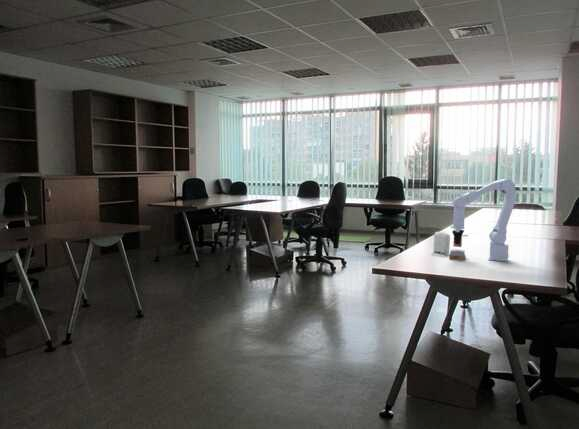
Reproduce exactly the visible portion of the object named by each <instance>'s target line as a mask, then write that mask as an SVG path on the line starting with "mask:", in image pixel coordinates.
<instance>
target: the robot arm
mask: <svg viewBox="0 0 579 429" xmlns="http://www.w3.org/2000/svg"><path fill="white" fill-rule="evenodd" d="M495 190H496V191H500V192H501V193H502V194H503V196H504V197H505V199H504V201H503V203H502V204H503V205H502V207H501V209H500V210H501V211H500V212H499V216H498V219H497V221H496V224H495V226H494V227H493V229H492V230H491V232H490V233H489V239H490V243H489V256H488V261H495V262H496V261H498V262H499V261H500V262H508V260H509V257H510V256H509V243H508V244H506V241H507V233H508V232H507V231H508V230H507V226H508V224H509V220H510V218H511V215H512V211H513V209H514V206H515V204H516V201H517V198H518V197H517V196H518V194H517V190H516V184H515V183H514V181H512V180H511V179H508V178H500V179H498V180H495V181H492V182H490V183H489V184H486V185H485V186H483V187H481V188H480V189H478V190H474V189H469V190H468V192H466V193H464V194H460V196H456V197H455V198H454V199H453V201H452V204H453V217H452V218H453V220H452V226H450V228H451V229H452V234H453V240H454V239H455V244H460V240H461V237H462V238H463V233H464V232H465V216H466V215H465V214H466V211H465V210H466V209H465V208H466V206H467V205H469V204H471V203H474V202H475V201H478V200H479V199H480V197H481V196H483V195H486V194H487V193H490V192H492V191H495Z"/></svg>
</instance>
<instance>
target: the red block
mask: <svg viewBox="0 0 579 429" xmlns="http://www.w3.org/2000/svg"><path fill="white" fill-rule="evenodd" d="M462 244H463V236H462V237H461V240H460V244H455V239H454V238H453V245H452V246H453V247H456V248H457V247H458V248H462Z"/></svg>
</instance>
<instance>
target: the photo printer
mask: <svg viewBox="0 0 579 429" xmlns="http://www.w3.org/2000/svg"><path fill="white" fill-rule="evenodd" d="M450 242H451V236H450V234H449V233H448V232H445V231H436V232H434V234H433V252H436V253H439V252H440V253H441V254H444V253H445V254H444V255H449V254H450V247H451V246H450V244H451V243H450ZM446 253H447V254H446ZM448 253H449V254H448Z"/></svg>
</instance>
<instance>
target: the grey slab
mask: <svg viewBox="0 0 579 429" xmlns="http://www.w3.org/2000/svg"><path fill="white" fill-rule="evenodd" d="M465 251H466V250H465V249H458V248H457V249H454V248H451V249H450V250H449V256H463V257H464V254H465V253H466V252H465Z"/></svg>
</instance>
